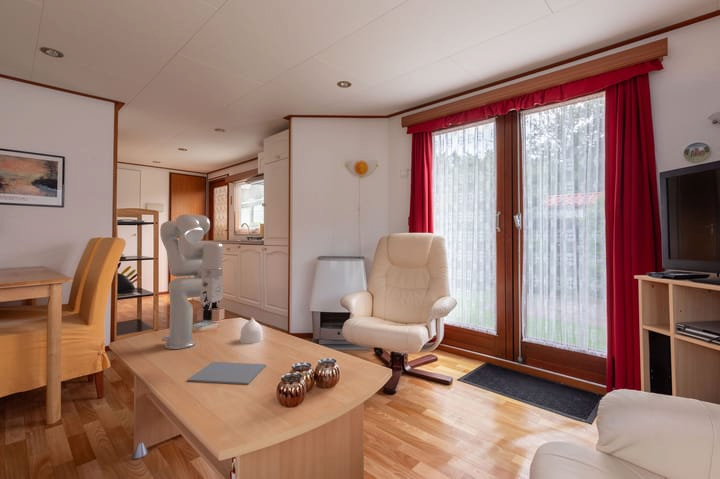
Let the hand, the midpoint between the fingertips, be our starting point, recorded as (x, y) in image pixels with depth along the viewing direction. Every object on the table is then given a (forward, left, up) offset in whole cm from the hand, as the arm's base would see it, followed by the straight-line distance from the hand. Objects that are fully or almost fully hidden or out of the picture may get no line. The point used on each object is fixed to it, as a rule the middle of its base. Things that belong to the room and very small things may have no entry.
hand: (210, 318), depth 135 cm
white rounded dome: (+4, +34, -19) cm, 39 cm away
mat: (+12, -8, -18) cm, 23 cm away
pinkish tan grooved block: (0, 0, 0) cm, 0 cm away
